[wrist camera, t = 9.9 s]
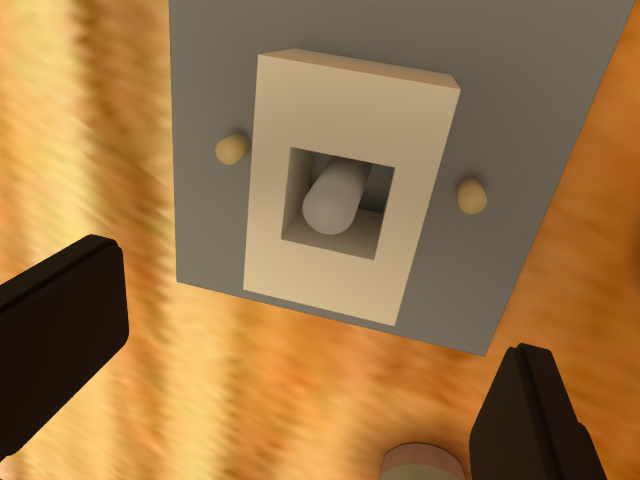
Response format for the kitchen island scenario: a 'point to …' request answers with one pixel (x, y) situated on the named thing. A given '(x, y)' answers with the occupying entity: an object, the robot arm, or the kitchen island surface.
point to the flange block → (350, 142)
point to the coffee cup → (420, 464)
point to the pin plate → (374, 179)
